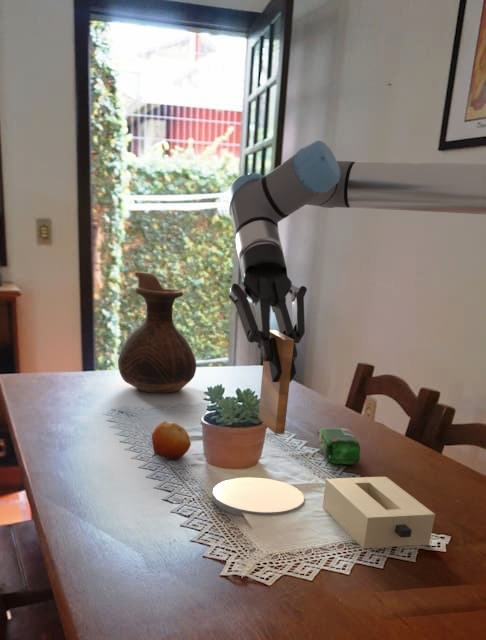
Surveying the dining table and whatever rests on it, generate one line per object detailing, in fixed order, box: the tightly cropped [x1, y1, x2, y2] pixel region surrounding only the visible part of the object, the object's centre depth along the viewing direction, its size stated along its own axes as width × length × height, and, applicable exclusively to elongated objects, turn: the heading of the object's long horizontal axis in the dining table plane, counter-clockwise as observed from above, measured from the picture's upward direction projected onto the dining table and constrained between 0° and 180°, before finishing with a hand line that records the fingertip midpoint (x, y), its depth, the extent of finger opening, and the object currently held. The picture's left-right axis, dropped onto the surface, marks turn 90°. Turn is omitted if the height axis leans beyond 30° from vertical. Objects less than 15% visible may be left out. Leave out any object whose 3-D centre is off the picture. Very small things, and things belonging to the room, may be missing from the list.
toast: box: [257, 329, 294, 435], centre depth 111 cm, size 2×9×15 cm, turn 13°
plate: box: [211, 477, 305, 518], centre depth 119 cm, size 16×16×1 cm
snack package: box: [317, 427, 361, 466], centre depth 143 cm, size 7×16×5 cm, turn 0°
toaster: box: [322, 476, 436, 550], centre depth 108 cm, size 11×18×6 cm, turn 13°
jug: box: [117, 271, 197, 394], centre depth 186 cm, size 22×22×30 cm
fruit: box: [151, 421, 191, 461], centre depth 137 cm, size 8×8×8 cm
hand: (284, 377), depth 107 cm, fingers closed on toast, 2 cm apart
